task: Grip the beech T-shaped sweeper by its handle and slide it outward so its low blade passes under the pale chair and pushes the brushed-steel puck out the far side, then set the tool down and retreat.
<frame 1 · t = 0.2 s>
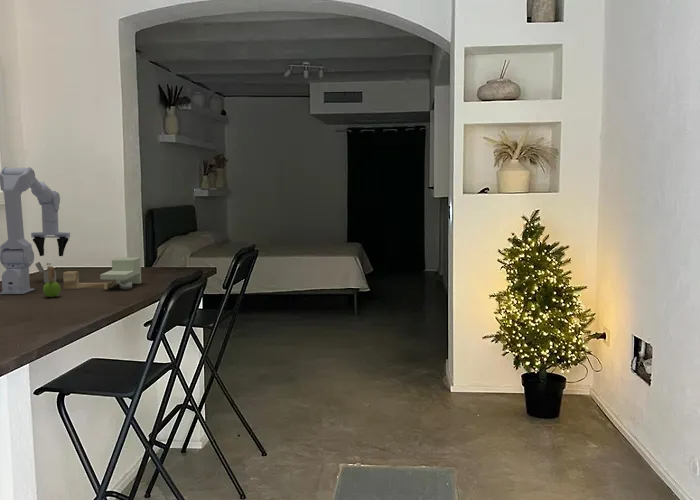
hand: (51, 255, 251), 10 cm above the breakfast bar, fingers open, 7 cm apart
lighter: (46, 282, 248), on the breakfast bar
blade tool: (71, 288, 235), on the breakfast bar
pale chair: (119, 287, 236), on the breakfast bar
token: (125, 288, 236), on the breakfast bar
green gourd: (51, 297, 215), on the breakfast bar
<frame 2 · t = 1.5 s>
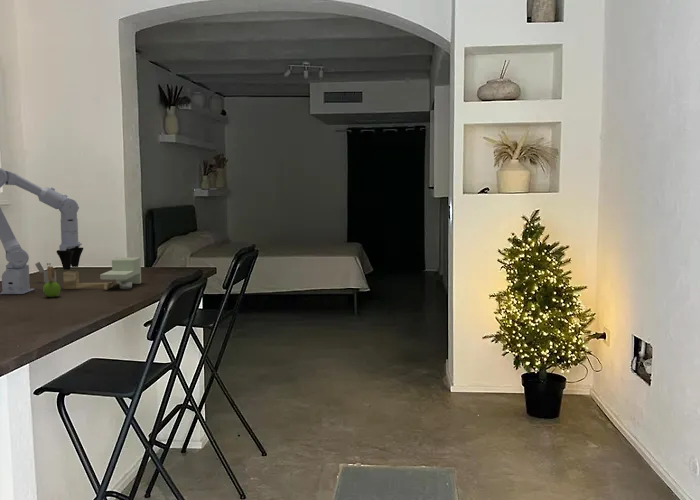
hand: (70, 268, 234), 7 cm above the breakfast bar, fingers open, 7 cm apart
nothing on the breakfast bar moved.
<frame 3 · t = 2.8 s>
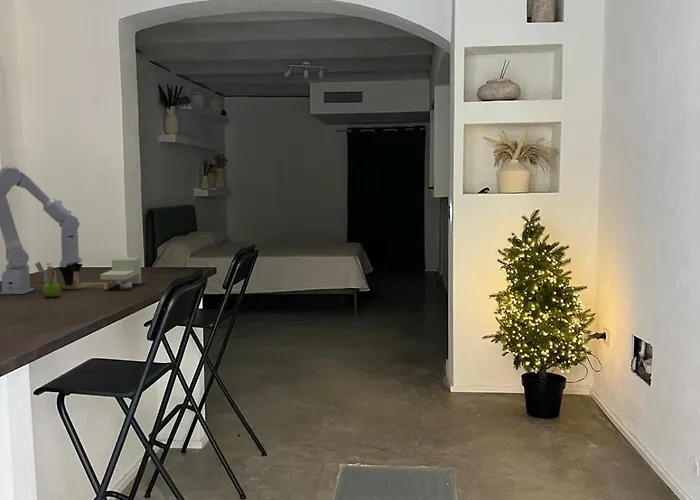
hand: (71, 284, 235), 1 cm above the breakfast bar, fingers closed on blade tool, 4 cm apart
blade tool: (71, 288, 235), on the breakfast bar, touching gripper
everything else where it was.
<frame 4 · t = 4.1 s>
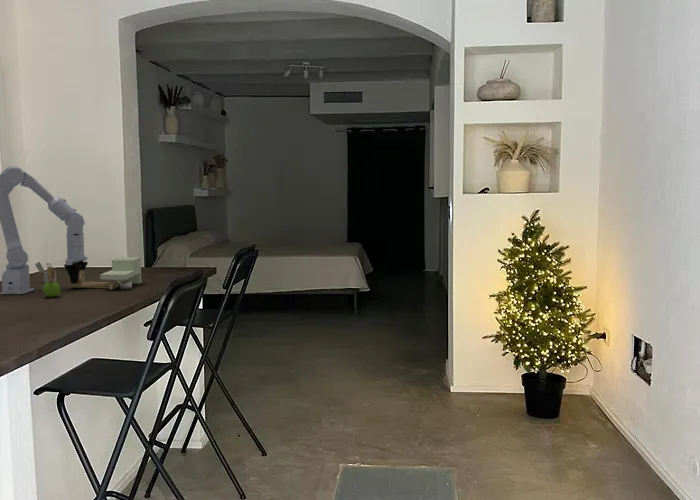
hand: (76, 282, 235), 2 cm above the breakfast bar, fingers closed on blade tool, 4 cm apart
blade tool: (76, 286, 235), point 1 cm above the breakfast bar, touching gripper
everything else where it was.
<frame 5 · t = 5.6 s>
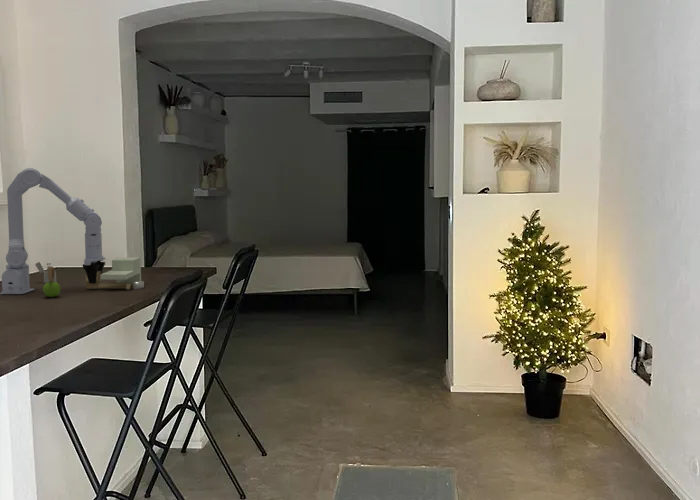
hand: (94, 282, 235), 2 cm above the breakfast bar, fingers closed on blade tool, 4 cm apart
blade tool: (93, 287, 235), on the breakfast bar, touching gripper
token: (137, 288, 236), on the breakfast bar
everything else where it was.
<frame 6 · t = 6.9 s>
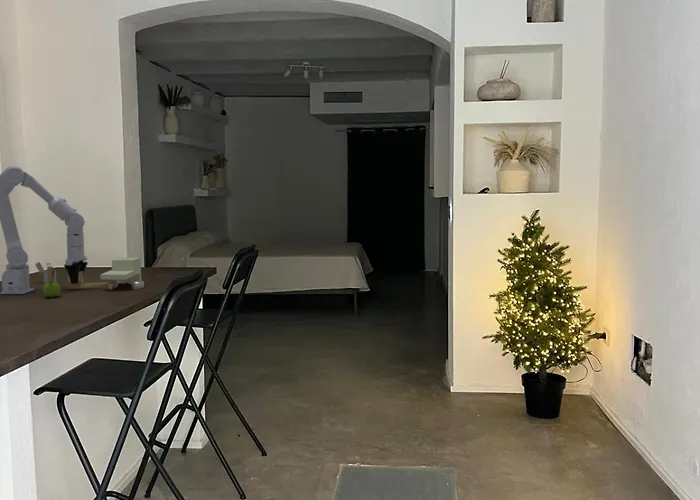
hand: (76, 282, 235), 2 cm above the breakfast bar, fingers closed on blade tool, 4 cm apart
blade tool: (76, 287, 235), on the breakfast bar, touching gripper
everything else where it was.
when the fingers open (2 cm above the breakfast bar, at t = 7.6 s): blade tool stays where it is, on the breakfast bar.
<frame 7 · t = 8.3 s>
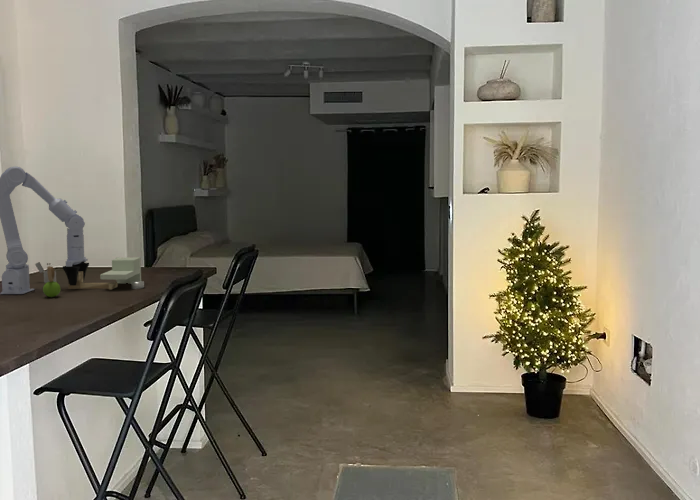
hand: (76, 283, 235), 2 cm above the breakfast bar, fingers open, 7 cm apart
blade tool: (76, 288, 235), on the breakfast bar
everything else where it was.
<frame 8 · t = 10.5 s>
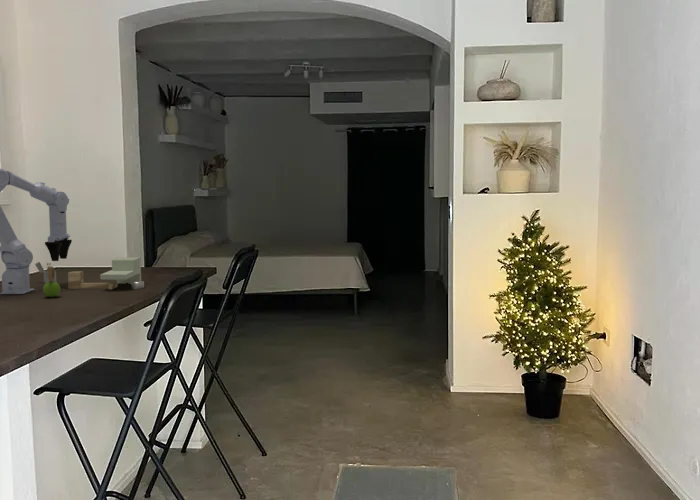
hand: (59, 259, 238), 10 cm above the breakfast bar, fingers open, 7 cm apart
nothing on the breakfast bar moved.
at the end: token inside the target area (3.4 cm from its centre), on the breakfast bar; token tilted 0°; the gripper is holding nothing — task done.
